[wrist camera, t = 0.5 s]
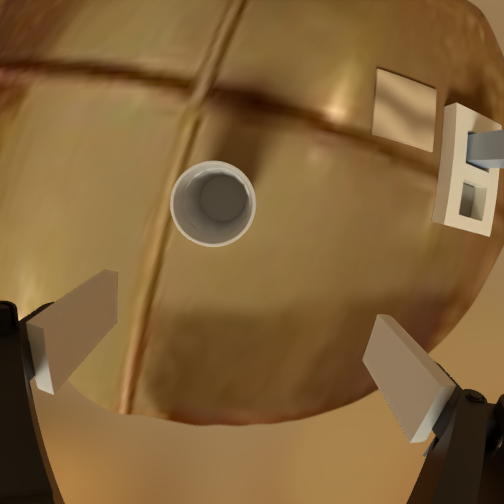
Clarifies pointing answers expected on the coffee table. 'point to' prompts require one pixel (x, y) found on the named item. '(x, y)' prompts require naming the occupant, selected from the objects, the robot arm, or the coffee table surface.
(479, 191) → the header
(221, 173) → the cup
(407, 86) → the pad
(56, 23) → the coffee table surface
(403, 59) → the coffee table surface
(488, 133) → the plug
